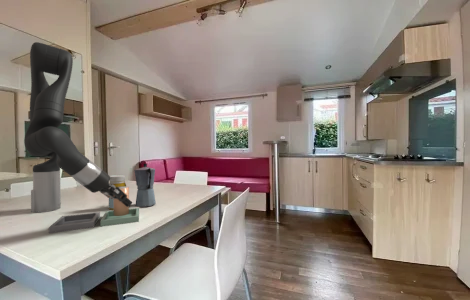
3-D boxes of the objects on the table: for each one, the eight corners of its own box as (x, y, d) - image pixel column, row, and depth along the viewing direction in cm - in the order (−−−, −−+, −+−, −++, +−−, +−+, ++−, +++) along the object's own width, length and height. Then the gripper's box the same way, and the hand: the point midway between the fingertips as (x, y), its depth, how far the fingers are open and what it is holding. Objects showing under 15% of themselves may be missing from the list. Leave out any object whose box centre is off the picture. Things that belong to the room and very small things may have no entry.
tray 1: (49, 235, 68) (49, 227, 68) (62, 222, 79) (62, 216, 79) (93, 229, 73) (93, 221, 73) (100, 218, 84) (100, 212, 84)
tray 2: (100, 228, 73) (100, 220, 73) (105, 217, 84) (105, 211, 84) (138, 223, 78) (138, 216, 78) (139, 213, 89) (139, 207, 89)
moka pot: (150, 200, 111) (149, 162, 111) (162, 206, 100) (162, 164, 100) (130, 204, 105) (130, 163, 105) (141, 210, 93) (141, 165, 93)
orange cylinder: (112, 216, 78) (112, 189, 78) (114, 212, 83) (114, 186, 82) (128, 215, 80) (128, 188, 80) (129, 211, 85) (129, 185, 84)
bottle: (118, 211, 92) (118, 177, 92) (105, 210, 94) (104, 176, 94) (129, 207, 99) (129, 174, 99) (116, 206, 101) (116, 174, 101)
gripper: (109, 168, 71) (143, 197, 81) (90, 166, 79) (123, 193, 89) (91, 187, 67) (129, 215, 76) (73, 182, 75) (110, 209, 85)
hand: (126, 203), depth 83 cm, fingers closed on orange cylinder, 5 cm apart
